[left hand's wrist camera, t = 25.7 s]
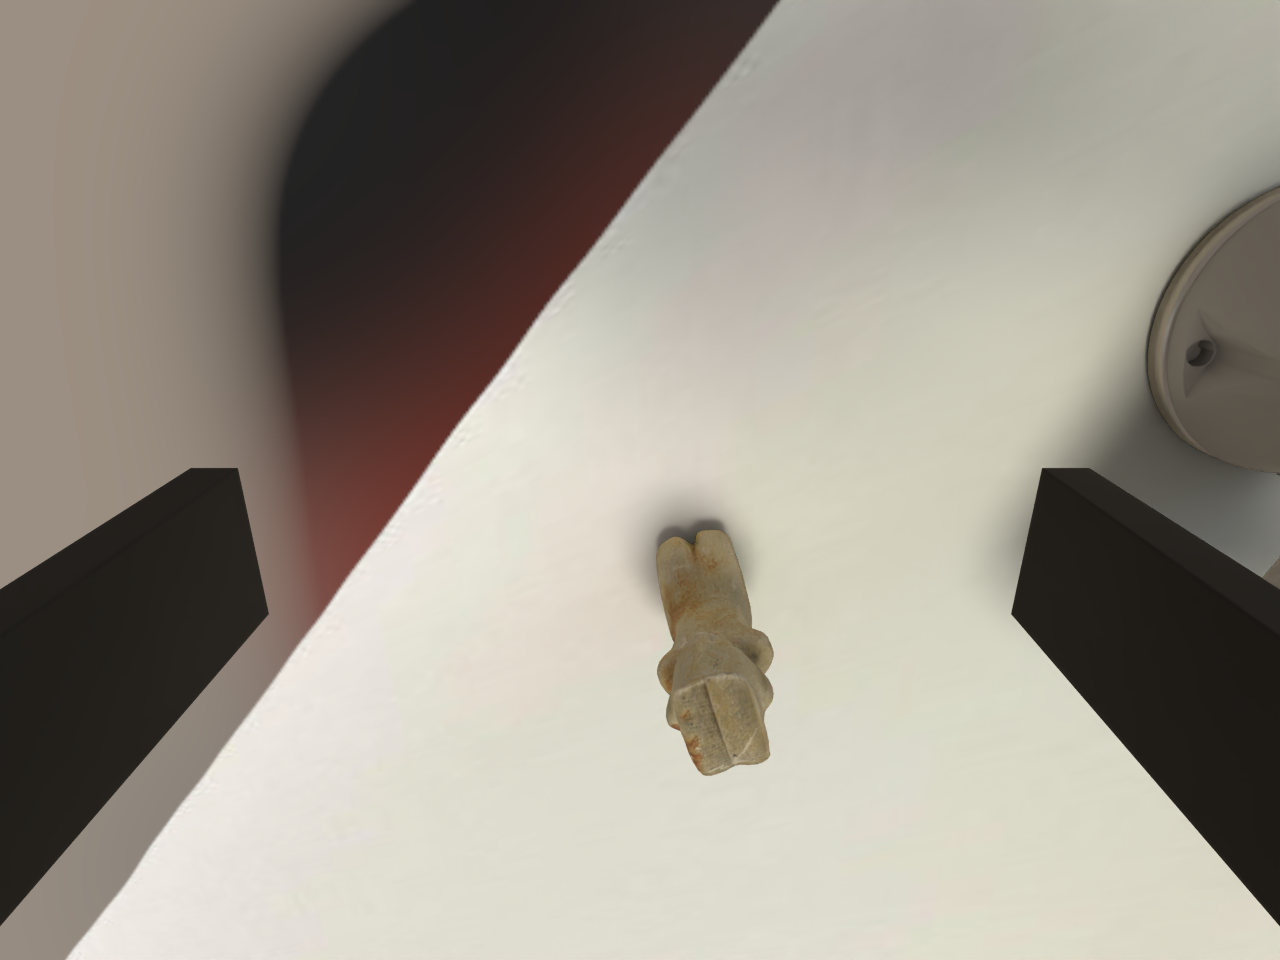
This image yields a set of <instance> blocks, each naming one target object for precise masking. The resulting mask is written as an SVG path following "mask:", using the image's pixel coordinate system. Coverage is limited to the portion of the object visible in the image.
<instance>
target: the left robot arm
mask: <svg viewBox="0 0 1280 960" xmlns="http://www.w3.org/2000/svg"><path fill="white" fill-rule="evenodd" d="M1148 374H1149V381H1150V387H1151V390H1152V394H1153V398H1154V400H1155V402H1156V405H1157V407H1158V409H1159V411H1160V413H1161V415H1162V417H1163V418H1164V420H1165V421H1166V422H1167V424H1168V425H1169V426H1170V428H1171V429H1172V430H1173V431H1174V432H1175V433H1176V434H1177V435H1178V436H1179V437H1181V438H1182V439H1183V440H1184V441H1186V442H1187V443H1188V444H1190V445H1192V446H1193V447H1195V448H1197V449H1199V450H1201V451H1203V452H1205V453H1207V454H1209V455H1211V456H1213V457H1215V458H1217V459H1220V460H1222V461H1224V462H1226V463H1229V464H1232V465H1235V466H1239V467H1243V468H1248V469H1253V470H1258V471H1263V472H1274V473H1279V474H1277V475H1280V187H1278V188H1276V189H1274V190H1271V191H1269V192H1267V193H1265V194H1263V195H1261V196H1259V197H1258V198H1256V199H1254V200H1252V201H1251V202H1249V203H1247V204H1246V205H1244V206H1243V207H1241V208H1240V209H1238V210H1237V211H1235V212H1234V213H1232V214H1231V215H1230V216H1229V217H1227V218H1226V219H1225V220H1224V221H1222V222H1221V223H1220V224H1219V225H1218V226H1217V227H1215V228H1214V229H1213V230H1212V231H1211V232H1210V233H1209V234H1208V235H1207V236H1206V237H1205V238H1204V239H1203V240H1202V241H1201V242H1200V243H1199V244H1198V245H1197V247H1196V248H1195V249H1194V250H1193V251H1192V252H1191V254H1190V255H1189V256H1188V257H1187V259H1186V260H1185V261H1184V263H1183V264H1182V266H1181V267H1180V269H1179V270H1178V271H1177V273H1176V274H1175V276H1174V278H1173V279H1172V281H1171V283H1170V285H1169V287H1168V288H1167V290H1166V292H1165V294H1164V297H1163V299H1162V301H1161V303H1160V305H1159V308H1158V311H1157V314H1156V316H1155V320H1154V323H1153V327H1152V331H1151V336H1150V342H1149V350H1148ZM268 614H269V613H268V608H267V603H266V599H265V594H264V589H263V585H262V580H261V575H260V570H259V566H258V561H257V556H256V552H255V547H254V542H253V537H252V533H251V528H250V523H249V519H248V514H247V509H246V504H245V500H244V495H243V490H242V486H241V481H240V476H239V472H238V468H190V469H189V470H187V471H186V472H184V473H183V474H181V475H179V476H178V477H176V478H175V479H173V480H171V481H170V482H168V483H167V484H165V485H164V486H162V487H160V488H159V489H157V490H156V491H154V492H153V493H151V494H149V495H148V496H146V497H145V498H143V499H142V500H140V501H138V502H137V503H135V504H134V505H132V506H131V507H129V508H128V509H126V510H124V511H123V512H121V513H120V514H118V515H116V516H115V517H113V518H112V519H110V520H109V521H107V522H105V523H104V524H102V525H101V526H99V527H98V528H96V529H94V530H93V531H91V532H90V533H88V534H87V535H85V536H83V537H82V538H80V539H79V540H77V541H75V542H74V543H72V544H71V545H69V546H68V547H66V548H65V549H63V550H61V551H60V552H58V553H57V554H55V555H53V556H52V557H50V558H49V559H47V560H46V561H44V562H42V563H41V564H39V565H38V566H36V567H35V568H33V569H32V570H30V571H28V572H27V573H25V574H24V575H22V576H21V577H19V578H17V579H16V580H14V581H13V582H11V583H9V584H8V585H6V586H5V587H3V588H2V589H0V926H1V925H2V923H3V922H4V921H5V920H6V919H7V918H8V916H9V915H10V914H11V913H12V912H13V911H14V909H15V908H16V907H17V906H18V905H19V904H20V902H21V901H22V900H23V899H24V898H25V897H26V896H27V894H28V893H29V892H30V891H31V890H32V889H33V887H34V886H35V885H36V884H37V883H38V881H39V880H40V879H41V878H42V877H43V876H44V875H45V873H46V872H47V871H48V870H49V869H50V868H51V866H52V865H53V864H54V863H55V862H56V861H57V860H58V858H59V857H60V856H61V855H62V854H63V853H64V851H65V850H66V849H67V848H68V847H69V846H70V844H71V843H72V842H73V841H74V840H75V839H76V837H77V836H78V835H79V834H80V833H81V832H82V830H83V829H84V828H85V827H86V826H87V825H88V823H89V822H90V821H91V820H92V819H93V818H94V816H95V815H96V814H97V813H98V812H99V811H100V810H101V808H102V807H103V806H104V805H105V804H106V803H107V801H108V800H109V799H110V798H111V797H112V796H113V794H114V793H115V792H116V791H117V790H118V789H119V787H120V786H121V785H122V784H123V783H124V782H125V780H126V779H127V778H128V777H129V776H130V775H131V774H132V772H133V771H134V770H135V769H136V768H137V767H138V765H139V764H140V763H141V762H142V761H143V760H144V758H145V757H146V756H147V755H148V754H149V753H150V751H151V750H152V749H153V748H154V747H155V746H156V744H157V743H158V742H159V741H160V740H161V739H162V737H163V736H164V735H165V734H166V733H167V732H168V731H169V729H170V728H171V727H172V726H173V725H174V724H175V722H176V721H177V720H178V719H179V718H180V717H181V715H182V714H183V713H184V712H185V711H186V710H187V708H188V707H189V706H190V705H191V704H192V703H193V701H194V700H195V699H196V698H197V697H198V696H199V694H200V693H201V692H202V691H203V690H204V689H205V688H206V686H207V685H208V684H209V683H210V682H211V681H212V679H213V678H214V677H215V676H216V675H217V674H218V672H219V671H220V670H221V669H222V668H223V667H224V665H225V664H226V663H227V662H228V661H229V660H230V658H231V657H232V656H233V655H234V654H235V653H236V652H237V650H238V649H239V648H240V647H241V646H242V644H243V643H244V642H245V641H246V640H247V639H248V638H249V636H250V635H251V634H252V633H253V632H254V631H255V629H256V628H257V627H258V626H259V625H260V624H261V622H262V621H263V620H264V619H265V618H266V617H267V615H268ZM1011 614H1012V615H1013V617H1014V618H1015V619H1016V620H1017V621H1018V622H1019V624H1020V625H1021V626H1022V627H1023V628H1024V629H1025V631H1026V632H1027V633H1028V634H1029V635H1030V636H1031V638H1032V639H1033V640H1034V641H1035V642H1036V643H1037V645H1038V646H1039V647H1040V648H1041V649H1042V650H1043V652H1044V653H1045V654H1046V655H1047V656H1048V657H1049V658H1050V660H1051V661H1052V662H1053V663H1054V664H1055V665H1056V667H1057V668H1058V669H1059V670H1060V671H1061V672H1062V674H1063V675H1064V676H1065V677H1066V678H1067V679H1068V681H1069V682H1070V683H1071V684H1072V685H1073V686H1074V688H1075V689H1076V690H1077V691H1078V692H1079V693H1080V694H1081V696H1082V697H1083V698H1084V699H1085V700H1086V701H1087V703H1088V704H1089V705H1090V706H1091V707H1092V708H1093V710H1094V711H1095V712H1096V713H1097V714H1098V715H1099V717H1100V718H1101V719H1102V720H1103V721H1104V722H1105V724H1106V725H1107V726H1108V727H1109V728H1110V729H1111V731H1112V732H1113V733H1114V734H1115V735H1116V736H1117V737H1118V739H1119V740H1120V741H1121V742H1122V743H1123V744H1124V746H1125V747H1126V748H1127V749H1128V750H1129V751H1130V753H1131V754H1132V755H1133V756H1134V757H1135V758H1136V760H1137V761H1138V762H1139V763H1140V764H1141V765H1142V767H1143V768H1144V769H1145V770H1146V771H1147V772H1148V774H1149V775H1150V776H1151V777H1152V778H1153V779H1154V780H1155V782H1156V783H1157V784H1158V785H1159V786H1160V787H1161V789H1162V790H1163V791H1164V792H1165V793H1166V794H1167V796H1168V797H1169V798H1170V799H1171V800H1172V801H1173V803H1174V804H1175V805H1176V806H1177V807H1178V808H1179V810H1180V811H1181V812H1182V813H1183V814H1184V815H1185V817H1186V818H1187V819H1188V820H1189V821H1190V822H1191V823H1192V825H1193V826H1194V827H1195V828H1196V829H1197V830H1198V832H1199V833H1200V834H1201V835H1202V836H1203V837H1204V839H1205V840H1206V841H1207V842H1208V843H1209V844H1210V846H1211V847H1212V848H1213V849H1214V850H1215V851H1216V853H1217V854H1218V855H1219V856H1220V857H1221V858H1222V860H1223V861H1224V862H1225V863H1226V864H1227V865H1228V866H1229V868H1230V869H1231V870H1232V871H1233V872H1234V873H1235V875H1236V876H1237V877H1238V878H1239V879H1240V880H1241V882H1242V883H1243V884H1244V885H1245V886H1246V887H1247V889H1248V890H1249V891H1250V892H1251V893H1252V894H1253V896H1254V897H1255V898H1256V899H1257V900H1258V901H1259V903H1260V904H1261V905H1262V906H1263V907H1264V908H1265V909H1266V911H1267V912H1268V913H1269V914H1270V915H1271V916H1272V918H1273V919H1274V920H1275V921H1276V922H1277V923H1278V925H1279V926H1280V558H1279V559H1278V560H1277V561H1276V563H1275V564H1274V565H1273V566H1272V567H1271V568H1270V569H1269V571H1268V572H1267V573H1266V574H1265V575H1264V576H1263V577H1262V578H1261V577H1260V576H1258V575H1256V574H1255V573H1253V572H1252V571H1250V570H1249V569H1247V568H1245V567H1244V566H1242V565H1241V564H1239V563H1238V562H1236V561H1234V560H1233V559H1231V558H1230V557H1228V556H1227V555H1225V554H1223V553H1222V552H1220V551H1219V550H1217V549H1216V548H1214V547H1212V546H1211V545H1209V544H1208V543H1206V542H1205V541H1203V540H1201V539H1200V538H1198V537H1197V536H1195V535H1193V534H1192V533H1190V532H1189V531H1187V530H1186V529H1184V528H1182V527H1181V526H1179V525H1178V524H1176V523H1175V522H1173V521H1171V520H1170V519H1168V518H1167V517H1165V516H1164V515H1162V514H1160V513H1159V512H1157V511H1156V510H1154V509H1153V508H1151V507H1149V506H1148V505H1146V504H1145V503H1143V502H1142V501H1140V500H1138V499H1137V498H1135V497H1134V496H1132V495H1131V494H1129V493H1127V492H1126V491H1124V490H1123V489H1121V488H1120V487H1118V486H1116V485H1115V484H1113V483H1112V482H1110V481H1109V480H1107V479H1105V478H1104V477H1102V476H1101V475H1099V474H1098V473H1096V472H1094V471H1093V470H1091V469H1090V468H1042V472H1041V476H1040V481H1039V486H1038V490H1037V495H1036V500H1035V504H1034V509H1033V514H1032V519H1031V523H1030V528H1029V533H1028V537H1027V542H1026V547H1025V552H1024V556H1023V561H1022V566H1021V570H1020V575H1019V580H1018V585H1017V589H1016V594H1015V599H1014V603H1013V608H1012V613H1011Z"/></svg>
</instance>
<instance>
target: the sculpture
mask: <svg viewBox="0 0 1280 960" xmlns="http://www.w3.org/2000/svg"><path fill="white" fill-rule="evenodd" d="M656 558H657V571H658V578H659V585H660V591H661V597H662V602H663V606H664V611H665V615H666V619H667V622H668V626H669V630H670V634H671V637H672V639H673V641H674V644H673V647H672V649H671V650H670V651H669V652H668V653H667V654H666V655H665V656H664V657H663V658H662V659H661V661H660V662H659V665H658V669H657V675H658V678H659V681H660V684H661V685H662V687H663V688H664V689H665V691H666V692H667V693H668V694H669V695H670V697H669V701H668V705H667V709H666V718H667V722H668V724H669V726H671V727H672V728H674V729H677V730H679V731H681V733H682V736H683V738H684V741H685V743H686V746H687V749H688V752H689V755H690V757H691V759H692V761H693V763H694V764H695V766H696V767H697V769H698V770H699V771H700V772H701V773H702V774H703V775H705V776H712V775H715V774H718V773H721V772H724V771H726V770H728V769H730V768H731V767H733V766H736V765H753V764H759V763H762V762H764V761H765V760H767V759H768V758H769V756H770V751H769V740H768V736H767V732H766V727H765V724H764V713H765V711H766V709H767V708H768V706H769V705H770V704H771V702H772V700H773V689H772V686H771V683H770V681H769V679H768V678H767V677H766V676H765V674H764V673H765V672H766V671H767V670H768V668H769V667H770V665H771V663H772V660H773V654H774V652H773V649H772V646H771V643H770V641H769V639H768V637H767V636H766V635H765V634H764V633H763V632H761V631H758V630H755V629H752V616H751V608H750V603H749V599H748V595H747V591H746V587H745V583H744V580H743V576H742V573H741V569H740V566H739V563H738V560H737V558H736V555H735V552H734V549H733V546H732V544H731V541H730V538H729V536H728V535H727V534H725V533H724V532H723V531H720V530H703V531H700V532H698V533H697V535H696V539H695V543H694V544H690V543H688V542H687V541H686V540H684V539H682V538H680V537H672V538H670V539H668V540H666V541H665V542H663V543H662V544H661V545H660V546H659V548H658V551H657V557H656Z"/></svg>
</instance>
